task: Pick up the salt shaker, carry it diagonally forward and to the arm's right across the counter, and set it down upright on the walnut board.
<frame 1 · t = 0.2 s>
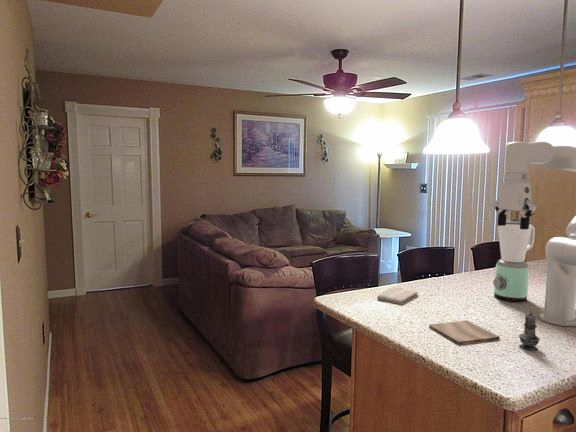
hand: (512, 227, 149), 36 cm above the kitchen island, tool pointing down, fingers open, 9 cm apart
washcloth: (398, 299, 189), on the kitchen island
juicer: (511, 298, 188), on the kitchen island
walnut board: (462, 333, 148), on the kitchen island
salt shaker: (528, 348, 136), on the kitchen island
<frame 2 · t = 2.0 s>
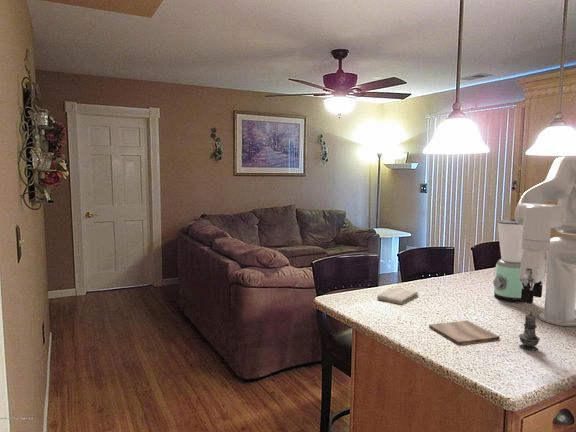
hand: (531, 299, 133), 16 cm above the kitchen island, tool pointing down, fingers open, 9 cm apart
nothing on the kitchen island moved.
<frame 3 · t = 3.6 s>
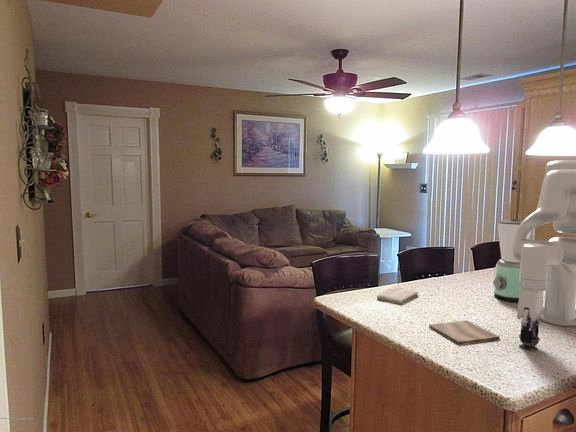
hand: (529, 338, 135), 3 cm above the kitchen island, tool pointing down, fingers closed on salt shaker, 5 cm apart
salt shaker: (528, 348, 136), on the kitchen island, touching gripper
everything else where it was.
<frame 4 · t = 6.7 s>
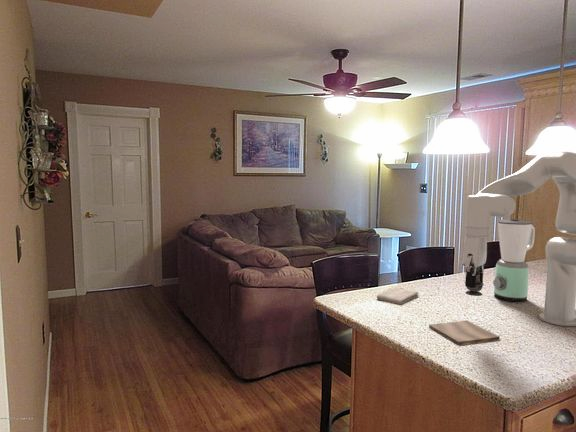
hand: (474, 284, 144), 18 cm above the kitchen island, tool pointing down, fingers closed on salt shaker, 5 cm apart
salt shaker: (473, 294, 144), point 14 cm above the kitchen island, touching gripper
everything else where it was.
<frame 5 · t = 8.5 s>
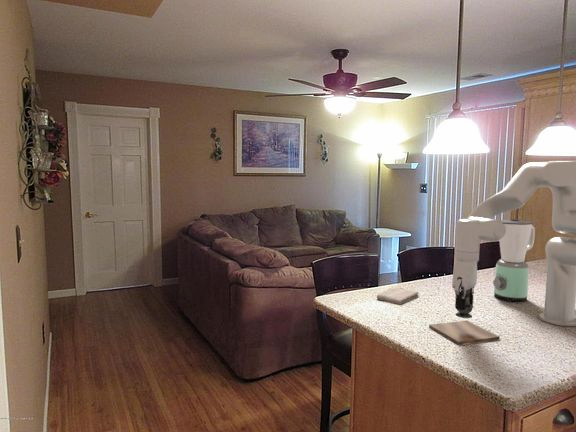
hand: (464, 306, 147), 9 cm above the kitchen island, tool pointing down, fingers closed on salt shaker, 5 cm apart
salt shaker: (463, 316, 147), point 6 cm above the kitchen island, touching gripper
everything else where it was.
when the fingers open (5 cm above the kitchen island, at t = 9.8 s): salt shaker stays where it is, resting on walnut board.
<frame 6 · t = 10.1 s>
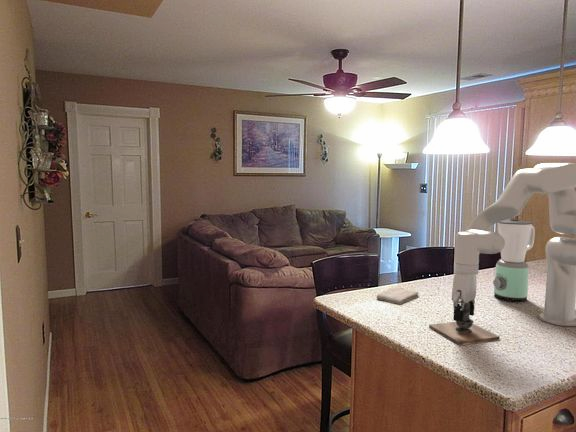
hand: (463, 317, 147), 6 cm above the kitchen island, tool pointing down, fingers open, 8 cm apart
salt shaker: (463, 330, 148), point 1 cm above the kitchen island, touching walnut board
everything else where it was.
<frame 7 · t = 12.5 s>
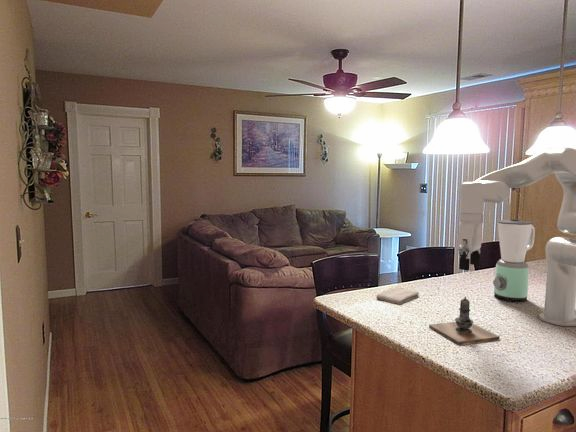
hand: (469, 267, 148), 23 cm above the kitchen island, tool pointing down, fingers open, 9 cm apart
nothing on the kitchen island moved.
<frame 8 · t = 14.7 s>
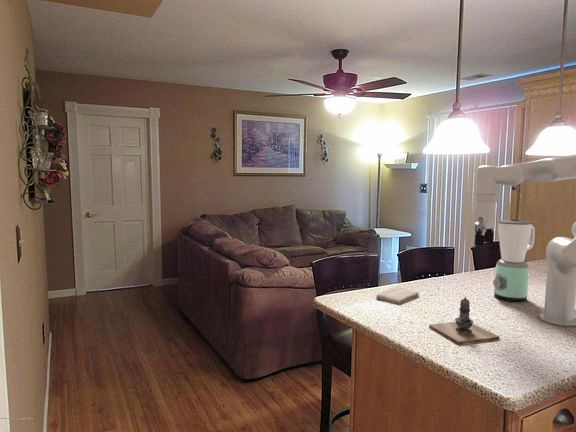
hand: (484, 243, 162), 28 cm above the kitchen island, tool pointing down, fingers open, 9 cm apart
nothing on the kitchen island moved.
at the end: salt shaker inside the target area on the walnut board (0.2 cm from its centre), point 0.8 cm above the walnut board's base; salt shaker tilted 0°; the gripper is holding nothing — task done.
